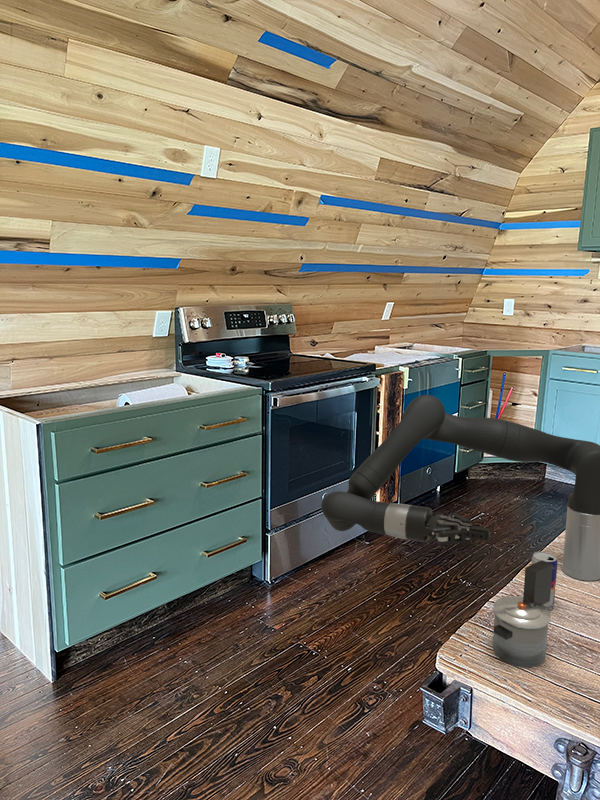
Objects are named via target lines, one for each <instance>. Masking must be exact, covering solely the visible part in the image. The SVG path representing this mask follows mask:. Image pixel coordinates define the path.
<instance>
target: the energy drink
mask: <svg viewBox="0 0 600 800" xmlns="http://www.w3.org/2000/svg"><path fill="white" fill-rule="evenodd" d="M541 560H543V561H546V562H548V563H550V564H553V569H552V581H551V593H550V601H549V602H547V603H545V604H543V605H544V606H545V607H546V608H547V609H549V610H550V611H551V610H553V609H554V607H555V598H556V585H557V575H558V573H557V572H558V565H559V564H558V557H557V556H556V555H555V554H553V553H551V552H548V551H535V552H534V553H533V554H532V557H531V564H530V565H532V564H534V563H537V562H539V561H541Z"/></svg>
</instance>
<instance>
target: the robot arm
mask: <svg viewBox="0 0 600 800" xmlns="http://www.w3.org/2000/svg"><path fill="white" fill-rule="evenodd" d="M422 440H428V441H437V442H441V443H442V442H443V443H449V444H452V445H457V446H459V447H463V448H465V449H469V450H472V451H475V452H479V453H484V454H487V455H489V456H493V457H497V458H500V459H504V460H508V461H513V462H520V463H544V464H548V465H551V466H556V467H558V468H561V469H563V470H566V471H569V472H571V473H572V474H574V475H575V478H574V479H575V481H574V486H573V487H574V488H573V491H572V492H571V493H569V495H568V498H567V511H566V522H565V532H564V542H563V554H562V566H561V568H562V569H561V571H562V572H563V573H564V574H565V575H567V576H569V577H571V578H573V579H576V580H580V581H585V582H586V581H589V582H590V581H591V582H593V581H599V580H600V444H598V443H596V442H594V441H587V440H581V439H576V438H569V437H563V436H559V435H553V434H551V433H547V432H545V431H542V430H539V429H537V428H533V427H529V426H527V425H524V424H520V423H516V422H513V421H510V420H507V419H500V418H494V417H466V416H459V415H458V416H457V415H453V414H450V413H447V412H446V410H445V406H444V404H443V401H442V400H440V399H439V398H438V397H437V396H434V395H432V394H431V395H430V394H423V395H420V396H417V397H415V398H413V400H411V401H410V403H409V404H408V405H407V406H406V408H405V410H404V412H403V414H402V416H401V420H400V421H399V423H398V424H397V426H396V427H395V428H394V429H393V430H392V431H391V433H390V434H389V435H388V436H386V438H385V439H384V441H382V443H380V444H379V446H378V447H376V448H375V449H374V451H373V452H372V453H371V454H370V455H368V457H367V458H366V459H365V460H364V461H363V462H362V463H361V464H360V465H359V467H358V468H356V470H355V471H354V472H353V473H352V475H351V476H350V477H349V479H348V482H347V483H348V489H347V491H341V490H339V491H332V492H330V493H327V494H326V495H325V496H324V497H323V499H322V500H321V512H322V514H323V516H324V517H325V518H326V520H327V521H328V523H329V524H330V525H331V527H332V528H333V529H334V530H336V531H339V532H346V531H349V530H351V529H352V528H353V527H354V526H356V525H358V526H359V527H361V528H362V529H364V530H365V531H367V532H370V533H376V534H381V535H386V536H390V537H393V538H397V539H403V540H409V541H415V542H418V543H419V542H420V543H428V542H429V541H430V539H431V538H432V539H437V545H438V546H445V545H453V544H460V543H465V542H466V540H467V541H468V540H471V539H474V540H480V541H484V542H488V541H489V540H490V538H491V529H490V528H488V527H482V526H476V525H475V526H474V525H473V524H472V523H471V520H469V519H468V518H466V517H463V516H461V515H460V514H458V513H456V512H450V516H447V515H435V514H434V512H433V509H432V508H431V507H426V506H421V505H420V506H419V505H412V504H406V503H390V502H384V501H378V500H377V501H374V500H372V498H373V497H374V496H375V495H376V493H378V491H379V490H380V489H381V488H383V485H384V484H386V482H387V481H388V480H389V479H390V477H392V475H393V474H394V472H395V471H396V470H397V468H398V467H399V466H400V465H401V463H402V462H403V461H404V460H405V458H406V457H407V456H408V454H409V453H411V451H412V450H413V449H414V448H415V447H416V446H417V445H418V444H419V443H420V442H422Z"/></svg>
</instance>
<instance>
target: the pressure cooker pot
mask: <svg viewBox="0 0 600 800" xmlns="http://www.w3.org/2000/svg"><path fill="white" fill-rule="evenodd" d="M548 610H549V609H548ZM549 611H550V612H551V610H549ZM493 615H494V616H493V619H494V620H493V633H492V634H493V635H492V651H493V653H494V655H495V656H496V657H497V658H498V659H500V660H501V661H502V662H504V663H506V664H509V665H512V666H514V667H519V668H535V667H538V666H540V665H542V664H543V663H544V662H545V661H546V655H547V645H548V635H549V634H548V633H549V632H548V631H549V624H548V625H547V626H545V627H543V628H540V629H522V628H517V627H514V626H511V625H508V624H506V623H504V622H502V621H501V620H500V619H498V618H497V617H496V616H495V614H493Z"/></svg>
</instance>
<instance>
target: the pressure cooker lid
mask: <svg viewBox="0 0 600 800" xmlns="http://www.w3.org/2000/svg"><path fill="white" fill-rule="evenodd" d="M531 564H532V563H531ZM531 564H530V565H528V566H526V567H525V569H524V570H525V571H524V583H523V584H524V585H523V596H519V595H517V596H515V595H509V596H507V595H506V596H503V597H500V598H498V599H496V600H495V601H494V603H493V610H492V611H493V615H495V616H496V617H497V618H498V619H500V620H501V621H502V622H504V623H506V624H508V625H511V626H514V627H517V628H522V629H540V628H543V627H545V626H547V625H548V626H549V624H550V622H551V619H552V618H551V616H552V615H551V610H550V611H549V610H548V609H547V608H546V607H545V606H544V605H543V604H545V603H547V602H549V601H550V593H551V581H552V569H553V564H550V563H548V562H546V561H543V560H541V561H539V562H537V563H534V564H532V565H531Z"/></svg>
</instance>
